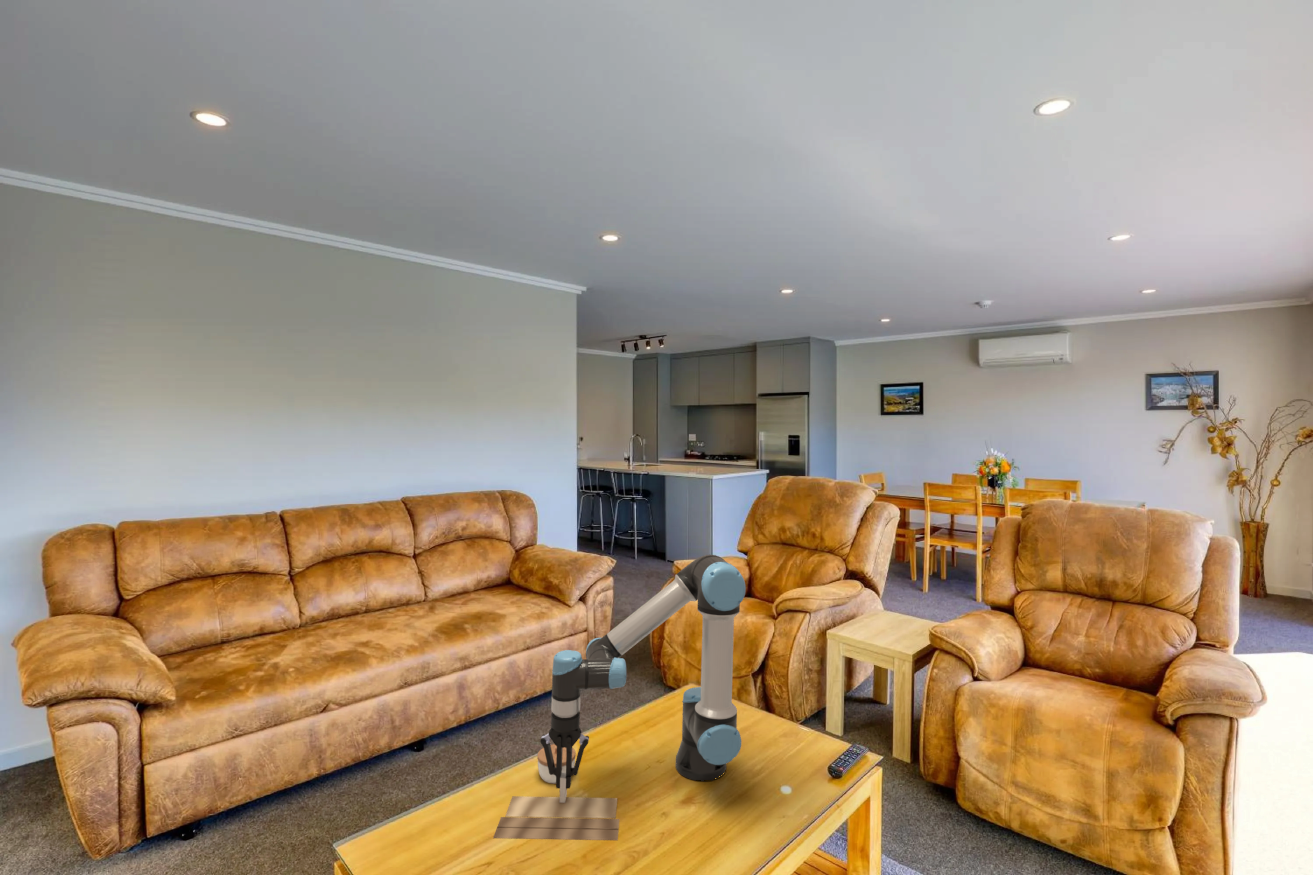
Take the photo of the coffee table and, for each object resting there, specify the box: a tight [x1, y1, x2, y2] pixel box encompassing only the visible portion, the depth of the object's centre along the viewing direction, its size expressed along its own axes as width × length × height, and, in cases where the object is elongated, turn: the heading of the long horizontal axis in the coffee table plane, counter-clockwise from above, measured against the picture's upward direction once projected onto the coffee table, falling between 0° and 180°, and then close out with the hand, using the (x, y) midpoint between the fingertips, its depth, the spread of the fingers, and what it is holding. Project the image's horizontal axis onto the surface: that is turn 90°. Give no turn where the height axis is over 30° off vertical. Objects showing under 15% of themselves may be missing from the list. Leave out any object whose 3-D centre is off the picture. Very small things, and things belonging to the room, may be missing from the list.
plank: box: [504, 795, 618, 819], centre depth 160 cm, size 28×8×2 cm, turn 91°
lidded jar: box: [537, 743, 577, 784], centre depth 174 cm, size 11×11×9 cm
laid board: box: [492, 816, 620, 841], centre depth 151 cm, size 30×8×2 cm, turn 91°
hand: (563, 799), depth 162 cm, fingers closed
